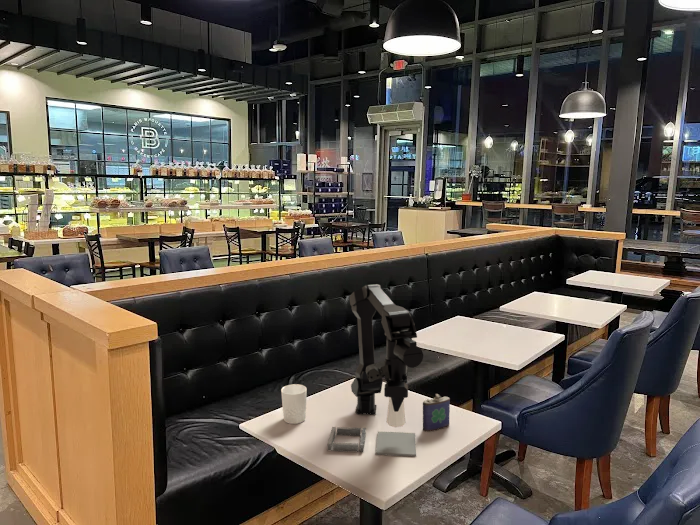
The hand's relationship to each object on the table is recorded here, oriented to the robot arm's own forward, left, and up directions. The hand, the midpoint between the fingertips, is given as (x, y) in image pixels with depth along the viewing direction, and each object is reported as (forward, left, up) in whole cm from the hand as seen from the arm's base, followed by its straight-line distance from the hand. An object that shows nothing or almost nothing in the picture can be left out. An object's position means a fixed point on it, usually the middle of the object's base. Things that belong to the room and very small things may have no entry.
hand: (396, 407), depth 147 cm
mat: (0, 0, -11) cm, 11 cm away
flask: (-11, +12, -11) cm, 20 cm away
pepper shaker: (0, 0, -5) cm, 5 cm away
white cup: (-13, -32, -11) cm, 36 cm away
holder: (0, -14, -11) cm, 18 cm away
